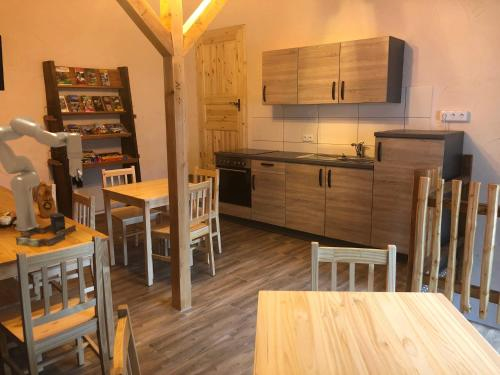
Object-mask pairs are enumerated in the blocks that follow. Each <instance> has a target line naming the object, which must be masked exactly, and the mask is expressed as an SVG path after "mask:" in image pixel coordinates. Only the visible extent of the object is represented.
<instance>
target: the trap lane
mask: <svg viewBox="0 0 500 375" xmlns="http://www.w3.org/2000/svg"><path fill="white" fill-rule="evenodd" d="M65 228H66V229H63V230H61V231H59V232H56V235H55V236H52V237H50V238H45V237H43V238H40V239H37V238H32V237H31V236H35V235H36V234H37V235H38V234H39V235H40V234H41V235H45V234H47V233H49V232H52V228H51V223H50V224H47V225H45V226H43V227H42V226H39V227H34V228H32V229H29V230H26V231H20V236H19V235H18V236H17V237H15V242H16V245H19V246H21V245H22V246H29V247H37V248H41V247H44V246H45V247H46V246H48V247H51V246H53V245H56V244H58V243H60V242H62V241H65V240H66V236H68V235H71V234H73V233H75V232H76V231H77V226H76V224H74V225H73V224H72V225H71V226H68V227H65ZM74 231H75V232H74ZM72 232H73V233H72ZM70 233H71V234H70Z"/></svg>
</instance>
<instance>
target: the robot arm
mask: <svg viewBox="0 0 500 375" xmlns="http://www.w3.org/2000/svg"><path fill="white" fill-rule="evenodd" d="M25 136H26V137H29V138H32V139H35V141H37V143H39V144H41V145H44V146H47V147H51V148H58V147H59V148H60V147H65V146H66V152H67V153H66V154H67V159H68V166H69V169H68V170H69V176H71V185H72V186H76V188H77V189H81V188H84V183H83V181H84V180H83V165H82V164H83V163H82V159H84V156H83V146H82V145H83V144H82V136H81V133H79V132H67V131H60V132H59V131H58V132H49V131H47V130H45V129H44V127H43V125H42V124H41V123H38V122H36V121H35V119H33V118H32V117H30V116H17V117H13V118H12V119H11V120H10V121H9V125H0V164H1V166H2V167H3V169H4V171H5V172H6V174H9V175H15V176H13V177H12V178H11V180H10V182H9V185H10V188H11V191H12V192H11V193H12V195H13V200H14V206H15V207H14V208H15V214H16V219H15V220H14V221H13V222H12V224H13V225H15V227H14V230H15V231H17V232H24V231H26V230H29V229H32V228H34V227H40V224H39V223H38V222H37V221H36V220H37V218H36V212H35V205H34V197H33V194H32V192H31V191H30V190H33V189H35V188H37V187H38V186H40V185H41V177H40V175H39V173H38V171H37V170H36V168H35V166H34V164H33V162H32V161H31V159H30V158H28V157H27V156H25V155H16V154H15V152H14V150H13V148H12V147H11V146H10V145H9V144H7V143H6V142H8V141H9V142H10V141H11V142H12V141H15V140H20V139H21V138H23V137H25ZM16 174H17V175H16Z"/></svg>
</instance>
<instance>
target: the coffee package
mask: <svg viewBox="0 0 500 375" xmlns="http://www.w3.org/2000/svg"><path fill="white" fill-rule="evenodd" d="M55 202H56V201H55V199H54V197H53V194H52V192H51V190H50V188H49V187H48V186H47V182H45V181H43V180H40V187H39V189H38V191H37V207H38V213H39V215H40V216H41V217H42V219H47V218H48V219H50V214H55V213H57V208H56V203H55Z"/></svg>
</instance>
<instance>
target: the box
mask: <svg viewBox="0 0 500 375" xmlns="http://www.w3.org/2000/svg"><path fill="white" fill-rule="evenodd" d="M65 218H66V217H65V215H64V214H63V213H61V212H56V213H55V214H50V218H49V219H50V224H51V228H52V231H51V233H53V234H54V235H55V236H56V232H59V231H61V230H63V229H66V228H67V227H66V221H65V220H66V219H65Z"/></svg>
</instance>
